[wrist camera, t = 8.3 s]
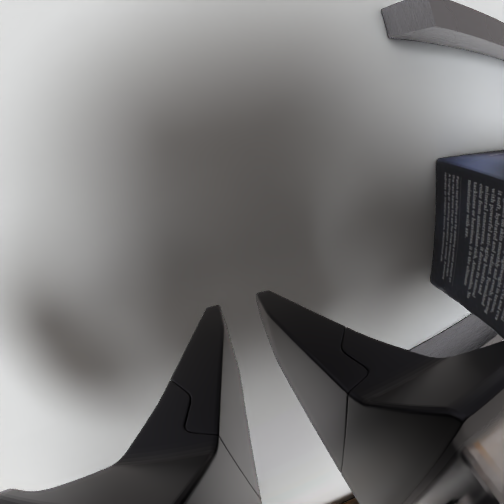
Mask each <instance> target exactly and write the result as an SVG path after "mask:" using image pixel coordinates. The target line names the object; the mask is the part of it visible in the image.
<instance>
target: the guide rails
mask: <svg viewBox="0 0 504 504" xmlns="http://www.w3.org/2000/svg"><path fill="white" fill-rule="evenodd" d="M381 11H382V14H383V18H384V21H385V25H386V29H387V33H388V37H389V38H396V39H405V40H413V41H420V42H427V43H433V44H439V45H444V46H450V47H455V48H459V49H464V50H468V51H472V52H476V53H480V54H484V55H487V56H491V57H494V58H498V59H501V60H504V23H503V22H501V21H499V20H497V19H495V18H492V17H490V16H488V15H486V14H484V13H481V12H479V11H476V10H474V9H472V8H469V7H467V6H464V5H461V4H459V3H456V2H453V1H450V0H404V1H401V2H399V3H396V4H393V5H391V6H388V7H386V8H383V9H381ZM502 340H504V339H503V338H502V337H500V336H499V335H498V334H497V333H496V332H495V331H493V330H492V329H491V328H490V327H488V326H487V325H486V324H485V323H483V322H482V320H481V319H479V318H478V317H476V316H475V315H473V314H471V315H469V316H468V317H466V318H465V319H463V320H462V321H460V322H458V323H457V324H455V325H454V326H452V327H450V328H449V329H447V330H445V331H444V332H442V333H440V334H438V335H437V336H435V337H433V338H431V339H430V340H428V341H426V342H424V343H423V344H421V345H419V346H417V347H415V348H413V349H411V350H410V351H412V352H415V353H419V354H422V355H425V356H429V357H435V358H445V357H451V356H455V355H459V354H462V353H466V352H469V351H473V350H476V349H479V348H482V347H486V346H489V345H492V344H495V343H498V342H501V341H502Z"/></svg>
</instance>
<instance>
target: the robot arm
mask: <svg viewBox="0 0 504 504" xmlns="http://www.w3.org/2000/svg"><path fill="white" fill-rule="evenodd" d="M256 299H257V303H258V307H259V312H260V316H261V319H262V322H263V325H264V328H265V331H266V333H267V336H268V339H269V341H270V344H271V347H272V349H273V352H274V355H275V357H276V359H277V362H278V364H279V366H280V367H281V369H282V371H283V373H284V375H285V377H286V378H287V380H288V382H289V384H290V386H291V387H292V389H293V391H294V393H295V395H296V396H297V398H298V400H299V402H300V403H301V405H302V407H303V409H304V410H305V412H306V414H307V416H308V418H309V419H310V421H311V423H312V425H313V426H314V428H315V430H316V431H317V433H318V435H319V437H320V438H321V440H322V442H323V444H324V445H325V447H326V449H327V450H328V452H329V454H330V456H331V457H332V459H333V461H334V462H335V464H336V466H337V467H338V469H339V471H340V472H341V473H342V476H343V478H344V479H345V481H346V483H347V484H348V486H349V488H350V489H351V491H352V493H353V494H354V496H355V497H356V499H357V501H358V502H359V504H504V341H501V342H498V343H495V344H492V345H489V346H486V347H482V348H479V349H476V350H473V351H469V352H466V353H462V354H459V355H455V356H451V357H445V358H435V357H429V356H425V355H422V354H419V353H415V352H412V351H409V350H406V349H403V348H399V347H396V346H393V345H390V344H387V343H384V342H381V341H378V340H376V339H373V338H370V337H368V336H365V335H363V334H361V333H358V332H356V331H354V330H352V329H350V328H346V327H345V326H343V325H341V324H339V323H336V322H334V321H332V320H330V319H328V318H326V317H324V316H322V315H319V314H317V313H315V312H313V311H311V310H309V309H307V308H305V307H303V306H301V305H298V304H296V303H294V302H292V301H290V300H288V299H286V298H284V297H282V296H280V295H278V294H276V293H274V292H272V291H269V290H267V291H264V292H260V293H258V294H256ZM0 504H262V502H261V496H260V491H259V486H258V480H257V474H256V469H255V463H254V457H253V451H252V445H251V440H250V433H249V427H248V421H247V415H246V409H245V402H244V396H243V389H242V383H241V377H240V371H239V367H238V364H237V360H236V357H235V354H234V350H233V347H232V343H231V340H230V336H229V333H228V329H227V326H226V323H225V320H224V317H223V313H222V310H221V307H220V306H219V305H215V306H212V307H208V308H206V310H205V312H204V314H203V316H202V318H201V320H200V322H199V324H198V326H197V328H196V330H195V332H194V334H193V336H192V338H191V340H190V342H189V344H188V346H187V348H186V350H185V352H184V354H183V356H182V358H181V360H180V362H179V364H178V366H177V368H176V370H175V372H174V374H173V376H172V378H171V381H170V382H169V384H168V386H167V388H166V390H165V392H164V393H163V395H162V397H161V399H160V401H159V403H158V405H157V406H156V408H155V409H154V411H153V413H152V414H151V416H150V417H149V419H148V420H147V422H146V423H145V425H144V426H143V428H142V429H141V431H140V433H139V434H138V436H137V437H136V439H135V440H134V442H133V443H132V445H131V446H130V448H129V449H128V450H127V452H126V453H125V454H124V456H123V457H122V458H121V459H120V460H119V461H118V462H116V463H115V464H113V465H112V466H110V467H108V468H106V469H103V470H101V471H98V472H96V473H93V474H91V475H88V476H86V477H83V478H80V479H77V480H75V481H72V482H69V483H66V484H63V485H60V486H57V487H54V488H50V489H47V490H41V491H23V490H17V489H7V490H5V491H2V492H0Z"/></svg>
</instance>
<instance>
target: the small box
mask: <svg viewBox="0 0 504 504" xmlns="http://www.w3.org/2000/svg"><path fill="white" fill-rule="evenodd" d="M436 164H437V166H436V179H437V183H436V191H437V196H436V226H435V242H434V254H433V264H432V274H431V283H432V284H433V285H434V286H435V287H437V288H438V289H440V290H442V291H443V292H445V293H446V294H447V295H449V296H450V297H451V298H453V299H454V300H456V301H457V302H459V303H460V304H461V305H462V306H464V307H465V308H466V309H467V310H469V311H470V312H471V313H472V314H473V315H475V316H476V317H478V318H479V319H481V320H482V322H483V323H485V324H486V325H487V326H488V327H490V328H491V329H492V330H493V331H495V332H496V333H497V334H498V335H499V336H500V337H502V338H503V339H504V150H503V151H493V152H484V153H477V154H468V155H461V156H454V157H447V158H440V159H438V160H437V161H436Z"/></svg>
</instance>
